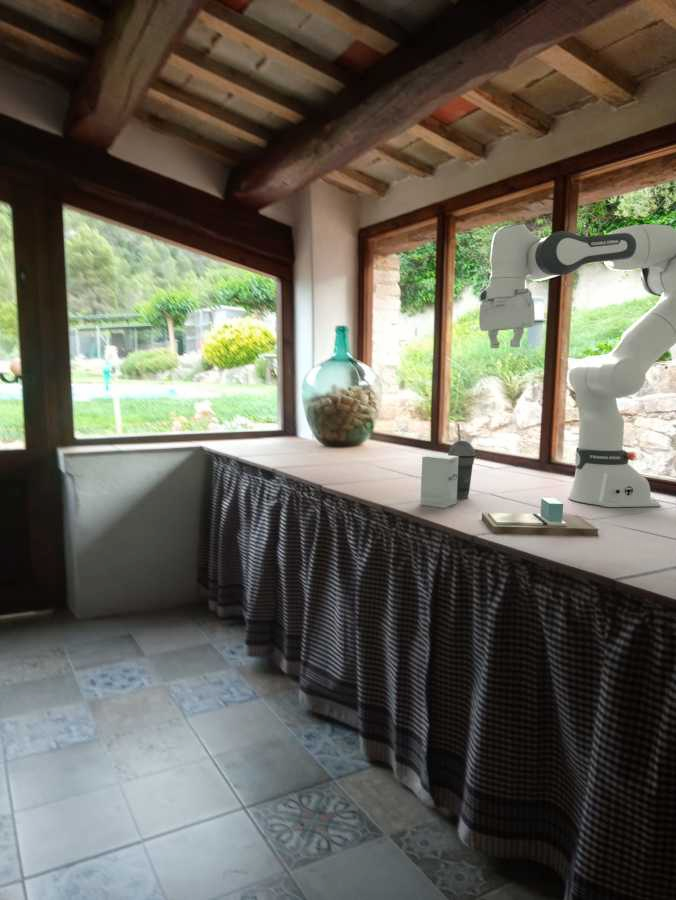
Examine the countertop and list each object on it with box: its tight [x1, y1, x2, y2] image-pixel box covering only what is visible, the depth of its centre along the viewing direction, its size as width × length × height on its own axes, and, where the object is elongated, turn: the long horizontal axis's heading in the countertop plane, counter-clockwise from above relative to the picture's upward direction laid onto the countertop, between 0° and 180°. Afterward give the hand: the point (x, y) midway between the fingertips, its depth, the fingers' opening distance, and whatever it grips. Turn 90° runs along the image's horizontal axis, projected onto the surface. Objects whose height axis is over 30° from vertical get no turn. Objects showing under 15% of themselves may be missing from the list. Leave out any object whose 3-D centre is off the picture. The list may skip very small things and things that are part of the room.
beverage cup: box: [447, 423, 476, 500], centre depth 175 cm, size 7×7×20 cm
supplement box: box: [419, 453, 459, 509], centre depth 165 cm, size 7×7×13 cm
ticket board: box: [481, 512, 599, 537], centre depth 143 cm, size 22×13×2 cm, turn 88°
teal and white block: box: [536, 497, 567, 526], centre depth 143 cm, size 4×9×4 cm, turn 178°
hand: (504, 347), depth 163 cm, fingers open, 8 cm apart
